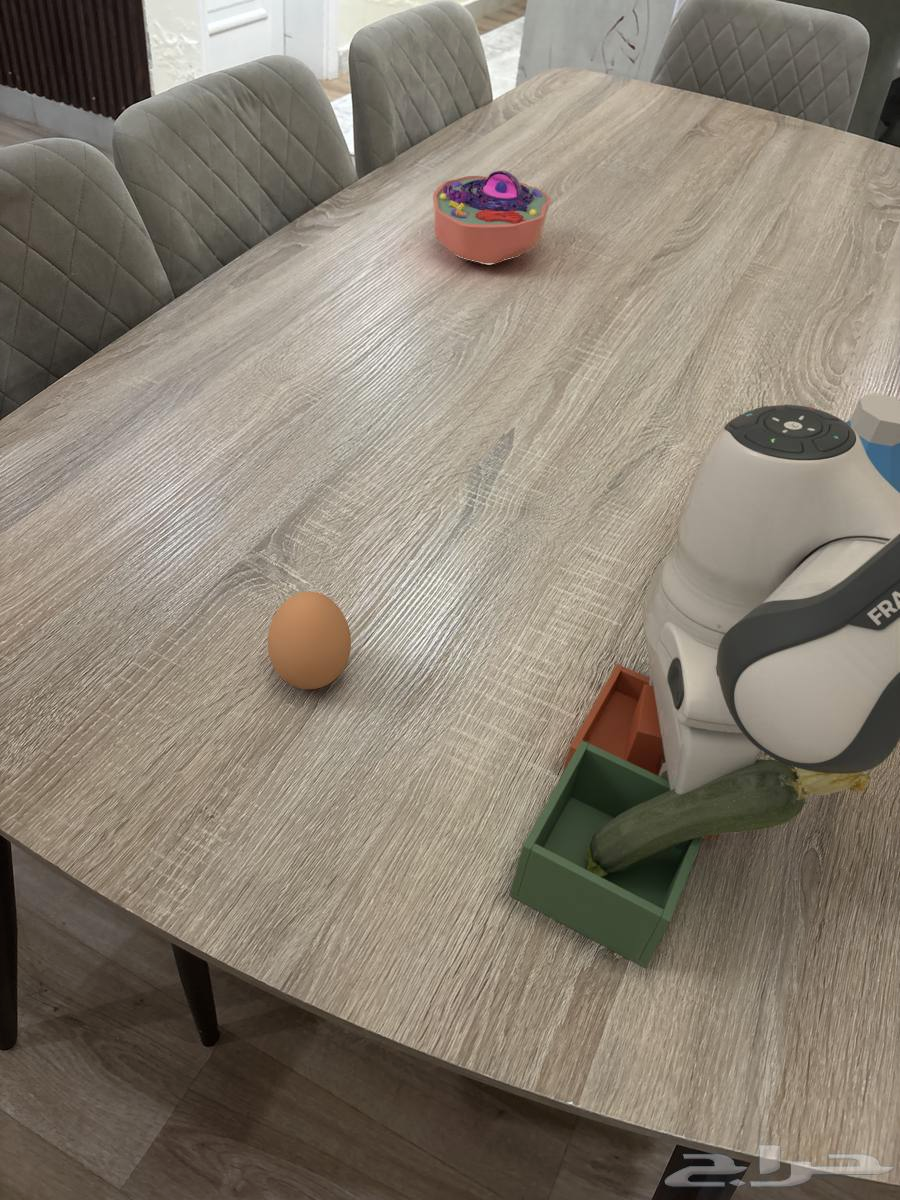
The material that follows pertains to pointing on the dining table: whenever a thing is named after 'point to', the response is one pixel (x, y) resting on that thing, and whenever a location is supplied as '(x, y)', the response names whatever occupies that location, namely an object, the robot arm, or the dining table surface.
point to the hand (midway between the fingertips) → (661, 742)
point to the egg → (309, 640)
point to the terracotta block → (645, 733)
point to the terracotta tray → (612, 714)
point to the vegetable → (711, 812)
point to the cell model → (489, 216)
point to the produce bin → (558, 861)
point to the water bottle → (880, 433)
